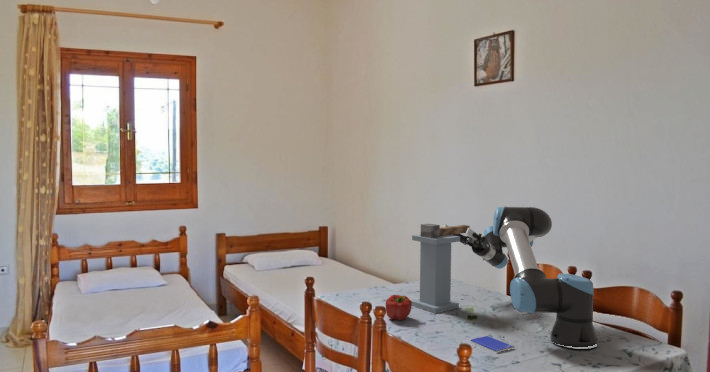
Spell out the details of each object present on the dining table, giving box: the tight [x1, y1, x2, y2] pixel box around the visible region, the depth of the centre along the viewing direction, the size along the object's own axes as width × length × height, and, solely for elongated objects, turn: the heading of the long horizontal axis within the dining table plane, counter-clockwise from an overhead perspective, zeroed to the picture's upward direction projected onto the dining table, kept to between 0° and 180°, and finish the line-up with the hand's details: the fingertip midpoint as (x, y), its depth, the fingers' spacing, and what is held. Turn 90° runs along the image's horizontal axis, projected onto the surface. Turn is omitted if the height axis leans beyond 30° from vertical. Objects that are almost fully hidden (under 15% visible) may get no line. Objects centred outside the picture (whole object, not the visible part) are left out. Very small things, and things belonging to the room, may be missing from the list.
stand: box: [411, 233, 460, 314], centre depth 240 cm, size 14×14×30 cm
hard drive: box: [470, 335, 515, 354], centre depth 195 cm, size 2×8×12 cm
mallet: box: [420, 223, 471, 238], centre depth 243 cm, size 25×6×5 cm, turn 127°
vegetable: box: [385, 294, 413, 321], centre depth 223 cm, size 11×10×10 cm
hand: (455, 228), depth 247 cm, fingers open, 13 cm apart
